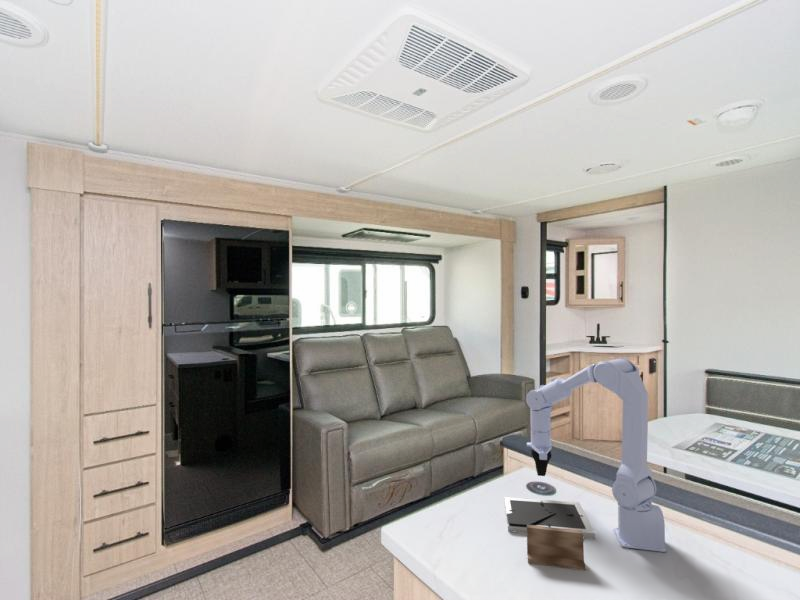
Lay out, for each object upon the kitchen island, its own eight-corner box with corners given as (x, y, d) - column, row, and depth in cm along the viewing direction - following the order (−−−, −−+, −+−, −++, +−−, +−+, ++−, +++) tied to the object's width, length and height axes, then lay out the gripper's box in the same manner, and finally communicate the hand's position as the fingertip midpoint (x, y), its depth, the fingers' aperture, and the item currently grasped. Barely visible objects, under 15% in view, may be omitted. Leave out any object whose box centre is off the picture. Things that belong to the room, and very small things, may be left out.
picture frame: (508, 534, 105) (594, 541, 101) (508, 523, 105) (594, 530, 101) (504, 504, 120) (579, 509, 117) (504, 494, 120) (579, 499, 117)
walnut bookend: (582, 561, 92) (582, 530, 92) (585, 570, 89) (585, 538, 89) (527, 554, 95) (526, 524, 95) (528, 562, 92) (527, 531, 92)
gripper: (525, 421, 130) (525, 464, 130) (528, 436, 116) (528, 484, 116) (548, 423, 129) (549, 466, 129) (554, 438, 115) (555, 486, 115)
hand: (541, 475), depth 122 cm, fingers closed
